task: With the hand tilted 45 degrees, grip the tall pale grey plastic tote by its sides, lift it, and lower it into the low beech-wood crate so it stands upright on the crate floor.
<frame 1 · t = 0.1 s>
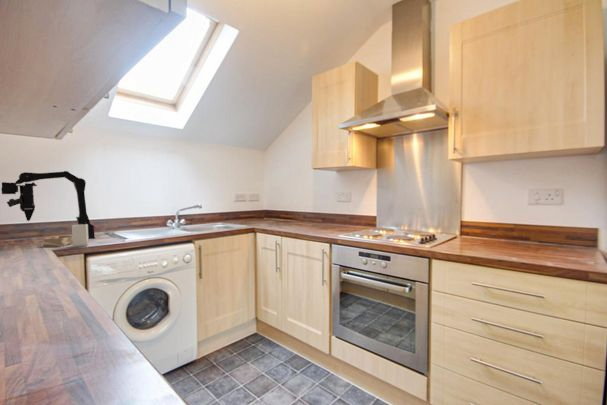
hand: (28, 220, 172), 14 cm above the countertop, fingers open, 9 cm apart
grey tote: (81, 245, 167), on the countertop
beech crate: (61, 244, 171), on the countertop
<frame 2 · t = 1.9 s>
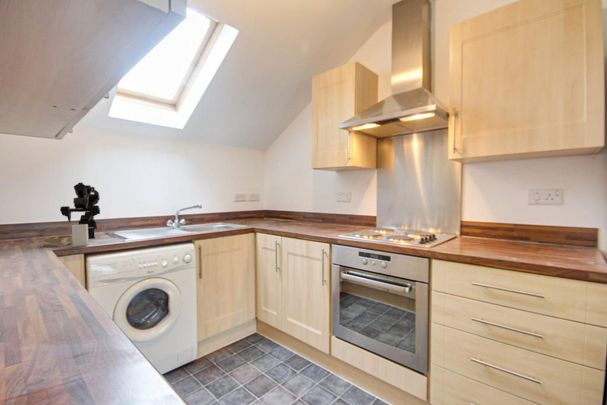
hand: (78, 221, 172), 13 cm above the countertop, fingers open, 9 cm apart
nothing on the countertop moved.
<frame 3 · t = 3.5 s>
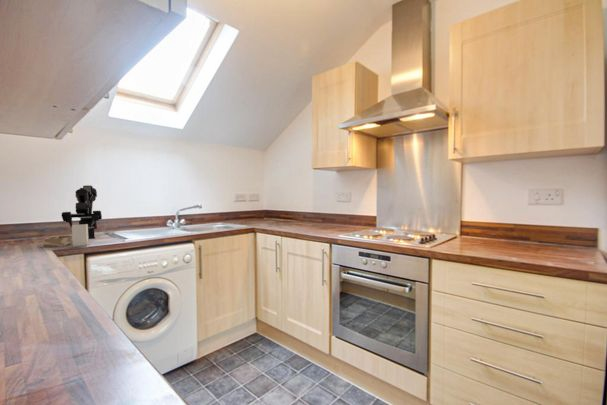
hand: (81, 226, 169), 11 cm above the countertop, fingers open, 9 cm apart
nothing on the countertop moved.
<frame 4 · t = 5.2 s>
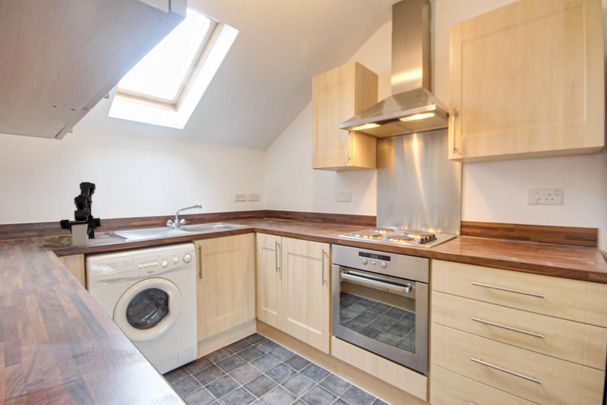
hand: (79, 234, 165), 7 cm above the countertop, fingers closed on grey tote, 6 cm apart
grey tote: (80, 245, 167), on the countertop, touching gripper
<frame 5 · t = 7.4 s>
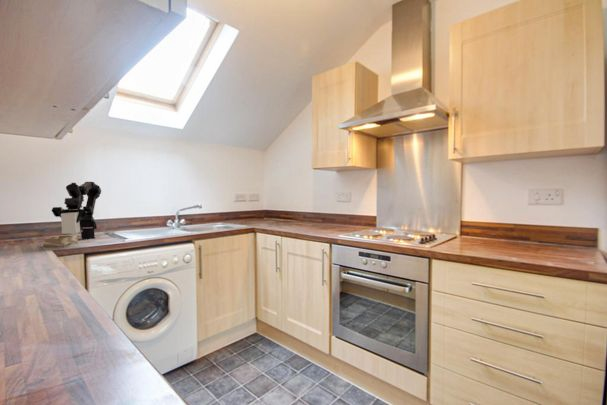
hand: (69, 222, 165), 14 cm above the countertop, fingers closed on grey tote, 6 cm apart
grey tote: (71, 233, 167), point 7 cm above the countertop, touching gripper
when the fingers open (9 cm above the countertop, at t = 9.7 s): grey tote drops 1 cm, resting on beech crate.
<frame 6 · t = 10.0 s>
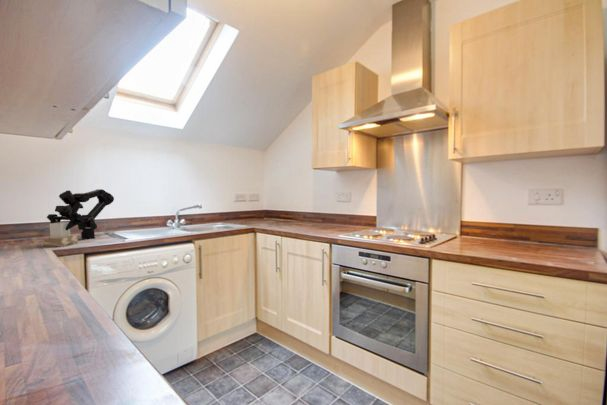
hand: (58, 229, 169), 9 cm above the countertop, fingers open, 9 cm apart
grey tote: (60, 243, 171), point 1 cm above the countertop, touching beech crate
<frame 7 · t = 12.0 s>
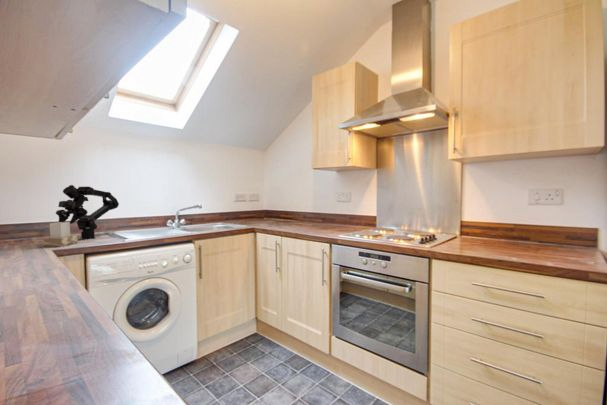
hand: (64, 224, 175), 11 cm above the countertop, fingers open, 9 cm apart
nothing on the countertop moved.
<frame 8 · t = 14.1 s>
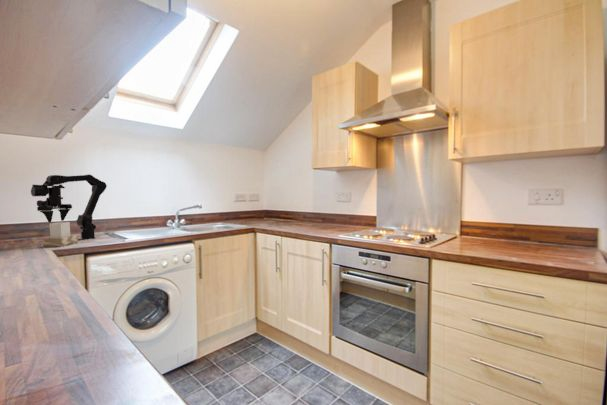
hand: (56, 221, 177), 13 cm above the countertop, fingers open, 9 cm apart
nothing on the countertop moved.
at the end: grey tote 0.0 cm off-centre on the beech crate, point 1.0 cm above the beech crate's base; grey tote tilted 0°; the gripper is holding nothing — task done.
